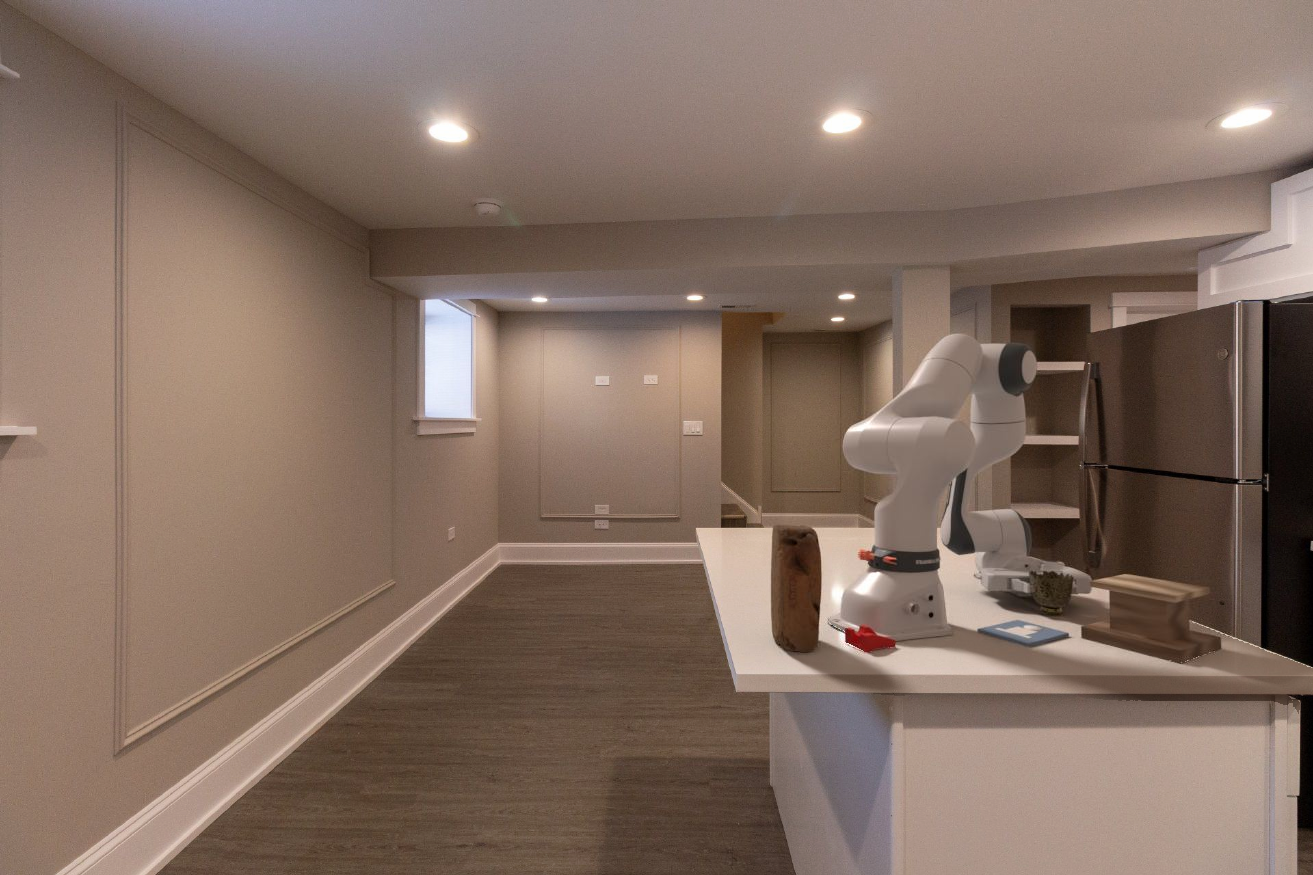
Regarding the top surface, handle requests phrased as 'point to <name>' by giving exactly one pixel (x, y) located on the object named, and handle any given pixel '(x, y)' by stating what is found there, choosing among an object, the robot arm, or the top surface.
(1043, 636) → the board
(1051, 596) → the cup
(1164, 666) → the top surface
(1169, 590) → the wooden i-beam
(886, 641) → the bracket
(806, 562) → the brown speckled rock
